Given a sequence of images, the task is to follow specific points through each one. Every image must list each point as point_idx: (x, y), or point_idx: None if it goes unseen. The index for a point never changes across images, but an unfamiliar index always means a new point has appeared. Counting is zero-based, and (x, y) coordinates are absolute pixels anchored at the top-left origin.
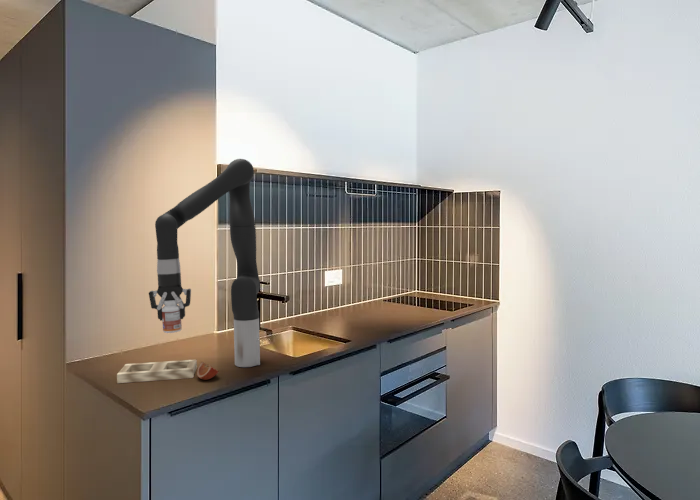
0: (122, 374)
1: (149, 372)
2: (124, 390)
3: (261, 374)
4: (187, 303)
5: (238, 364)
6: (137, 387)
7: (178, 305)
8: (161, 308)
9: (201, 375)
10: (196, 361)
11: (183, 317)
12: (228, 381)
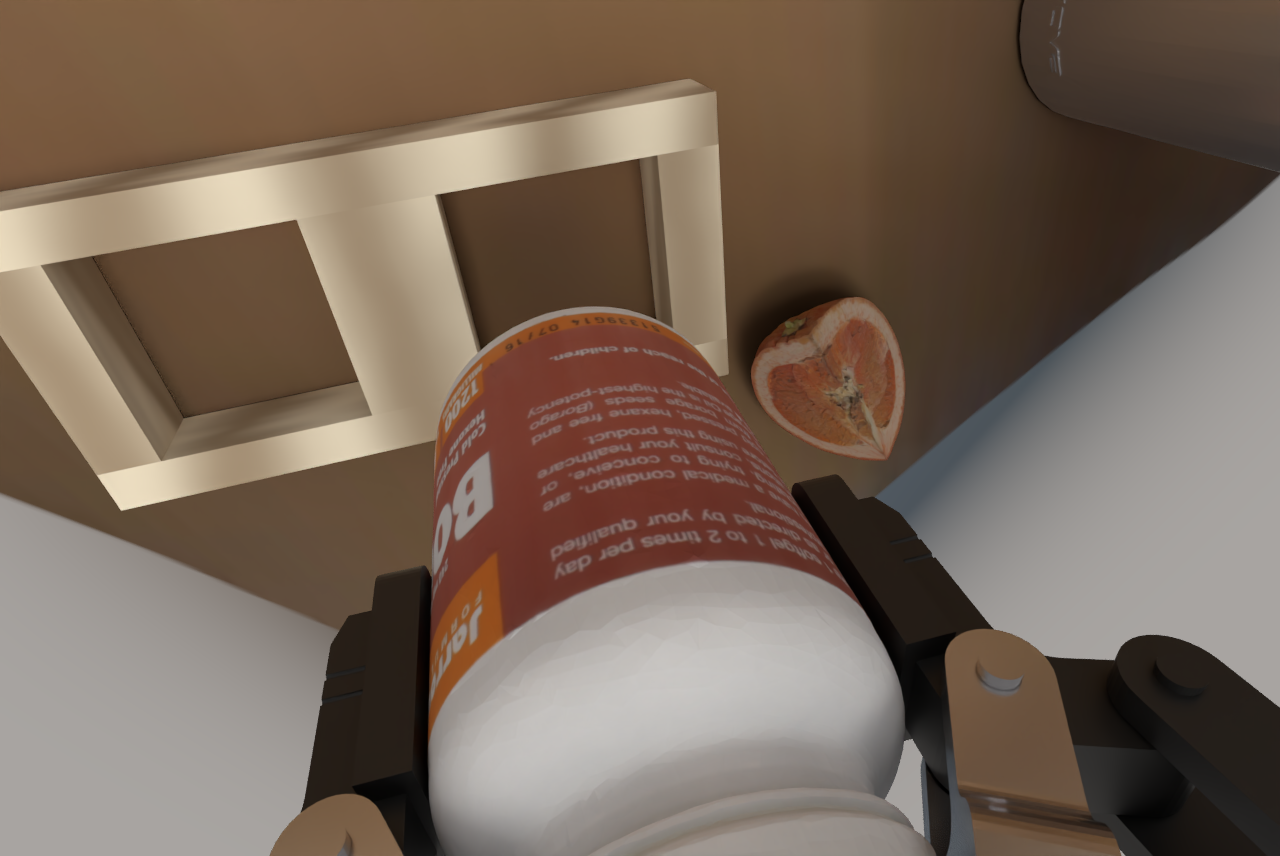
0: (171, 497)
1: (394, 447)
2: (314, 564)
3: (1136, 276)
4: (1149, 822)
5: (1051, 101)
6: (375, 518)
7: (883, 726)
8: (420, 852)
9: (789, 423)
10: (712, 112)
11: (835, 479)
12: (930, 398)
